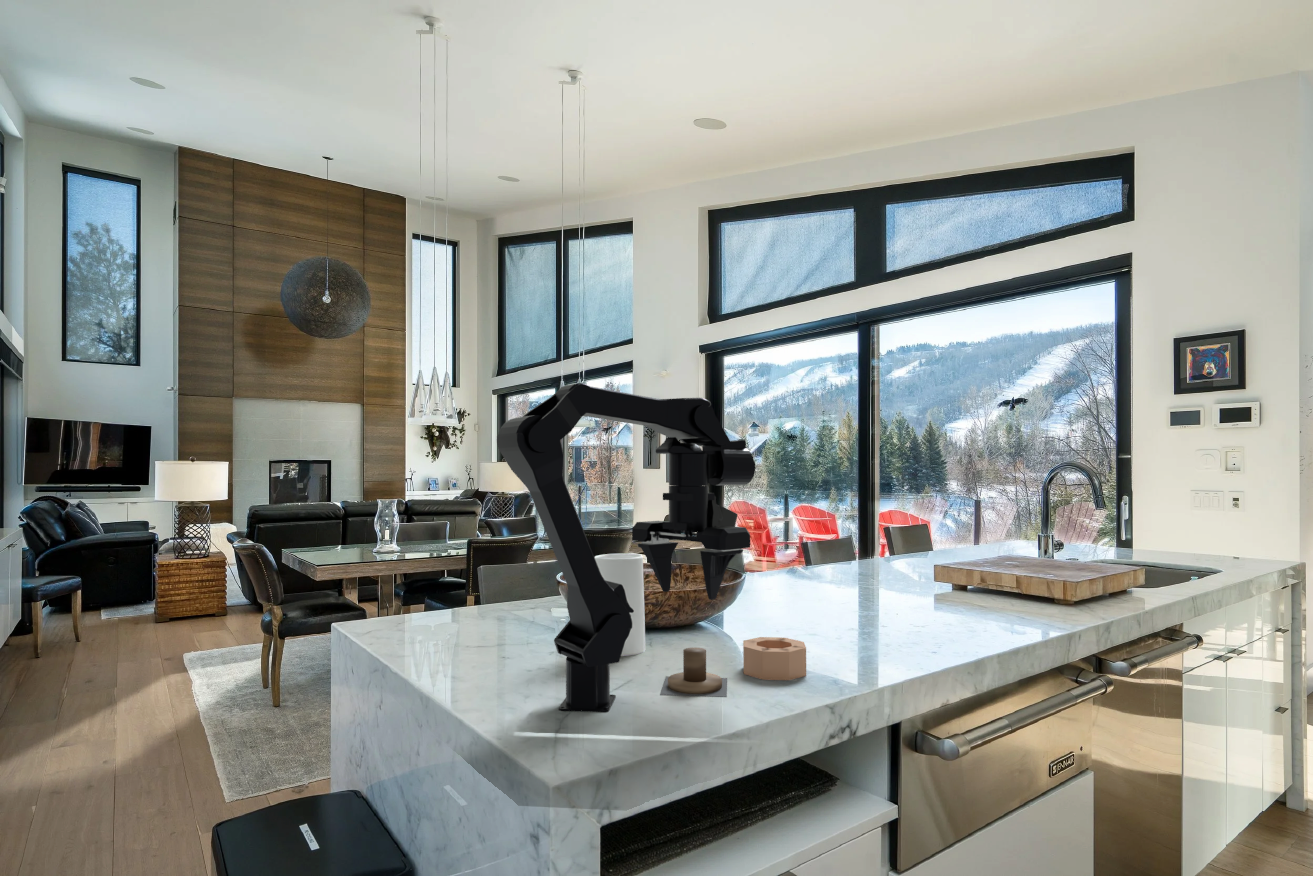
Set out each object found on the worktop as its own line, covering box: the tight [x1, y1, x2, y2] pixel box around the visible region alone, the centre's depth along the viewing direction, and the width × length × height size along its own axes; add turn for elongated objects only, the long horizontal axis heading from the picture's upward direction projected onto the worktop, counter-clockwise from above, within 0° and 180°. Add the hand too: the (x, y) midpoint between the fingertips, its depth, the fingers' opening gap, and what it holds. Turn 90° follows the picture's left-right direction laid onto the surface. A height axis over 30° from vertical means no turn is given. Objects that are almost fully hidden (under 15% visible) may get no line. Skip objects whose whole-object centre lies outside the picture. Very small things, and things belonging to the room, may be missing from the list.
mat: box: [659, 675, 728, 698], centre depth 106 cm, size 9×9×1 cm
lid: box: [668, 647, 723, 694], centre depth 106 cm, size 8×8×5 cm
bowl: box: [742, 636, 807, 681], centre depth 114 cm, size 9×9×4 cm
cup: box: [594, 552, 646, 657], centre depth 128 cm, size 8×8×16 cm
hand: (688, 595), depth 108 cm, fingers open, 9 cm apart
